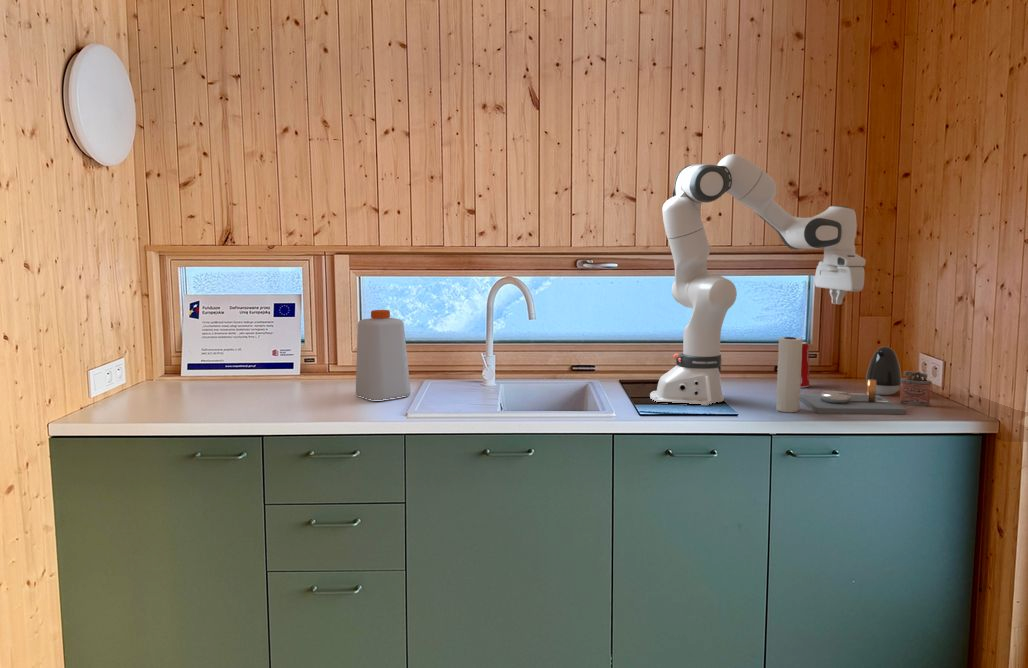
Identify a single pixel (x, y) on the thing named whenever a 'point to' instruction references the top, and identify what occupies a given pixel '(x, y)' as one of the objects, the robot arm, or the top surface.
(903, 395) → the brown textured block
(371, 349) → the plastic bottle
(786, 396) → the paper towel roll
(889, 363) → the black egg-shaped dome
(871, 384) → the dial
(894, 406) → the slate board
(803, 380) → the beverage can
